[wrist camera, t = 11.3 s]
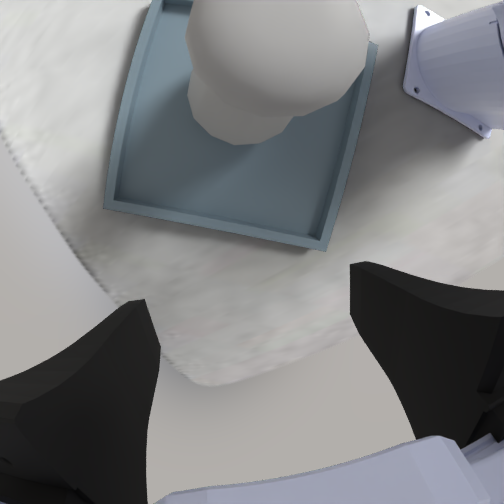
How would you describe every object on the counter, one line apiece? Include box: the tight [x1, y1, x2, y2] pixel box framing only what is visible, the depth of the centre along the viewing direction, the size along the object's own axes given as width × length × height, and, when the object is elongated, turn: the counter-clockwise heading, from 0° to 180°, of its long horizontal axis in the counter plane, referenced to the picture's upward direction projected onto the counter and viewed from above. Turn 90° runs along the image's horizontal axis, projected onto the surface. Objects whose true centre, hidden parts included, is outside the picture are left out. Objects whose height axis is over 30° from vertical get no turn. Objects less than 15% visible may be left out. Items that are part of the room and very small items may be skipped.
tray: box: [103, 0, 378, 252], centre depth 17 cm, size 14×14×2 cm
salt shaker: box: [185, 0, 370, 145], centre depth 11 cm, size 6×6×13 cm
